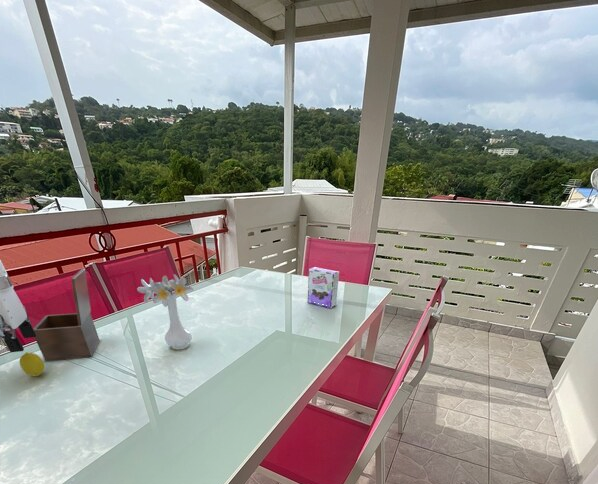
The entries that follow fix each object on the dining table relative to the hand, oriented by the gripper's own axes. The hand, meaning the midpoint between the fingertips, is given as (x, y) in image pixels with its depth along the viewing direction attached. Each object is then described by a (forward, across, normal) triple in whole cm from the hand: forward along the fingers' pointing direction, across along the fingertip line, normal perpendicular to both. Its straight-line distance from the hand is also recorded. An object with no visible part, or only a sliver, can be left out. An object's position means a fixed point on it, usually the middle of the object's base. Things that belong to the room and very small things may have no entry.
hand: (24, 343), depth 96 cm
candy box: (+13, -46, +108) cm, 118 cm away
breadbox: (+11, -17, +5) cm, 21 cm away
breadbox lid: (-8, -17, +13) cm, 23 cm away
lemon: (+11, 0, -1) cm, 11 cm away
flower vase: (+12, -12, +40) cm, 44 cm away
